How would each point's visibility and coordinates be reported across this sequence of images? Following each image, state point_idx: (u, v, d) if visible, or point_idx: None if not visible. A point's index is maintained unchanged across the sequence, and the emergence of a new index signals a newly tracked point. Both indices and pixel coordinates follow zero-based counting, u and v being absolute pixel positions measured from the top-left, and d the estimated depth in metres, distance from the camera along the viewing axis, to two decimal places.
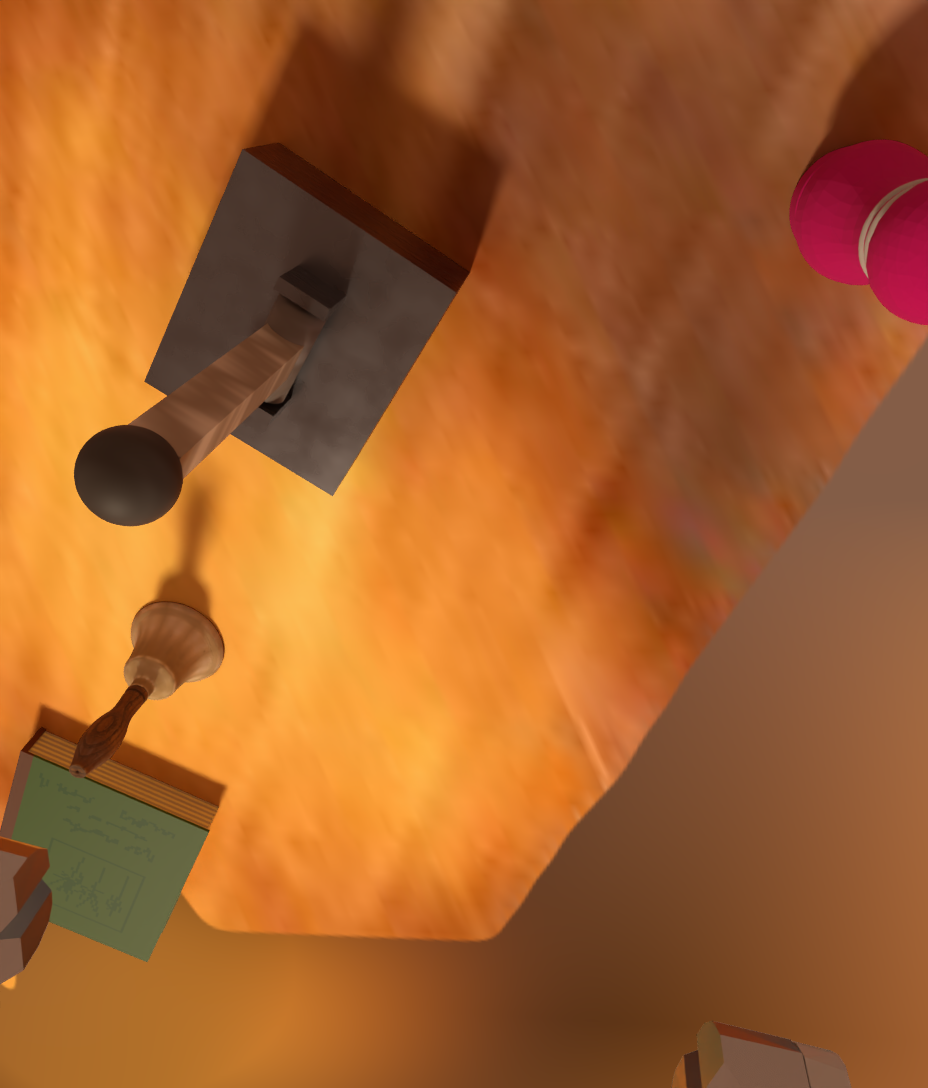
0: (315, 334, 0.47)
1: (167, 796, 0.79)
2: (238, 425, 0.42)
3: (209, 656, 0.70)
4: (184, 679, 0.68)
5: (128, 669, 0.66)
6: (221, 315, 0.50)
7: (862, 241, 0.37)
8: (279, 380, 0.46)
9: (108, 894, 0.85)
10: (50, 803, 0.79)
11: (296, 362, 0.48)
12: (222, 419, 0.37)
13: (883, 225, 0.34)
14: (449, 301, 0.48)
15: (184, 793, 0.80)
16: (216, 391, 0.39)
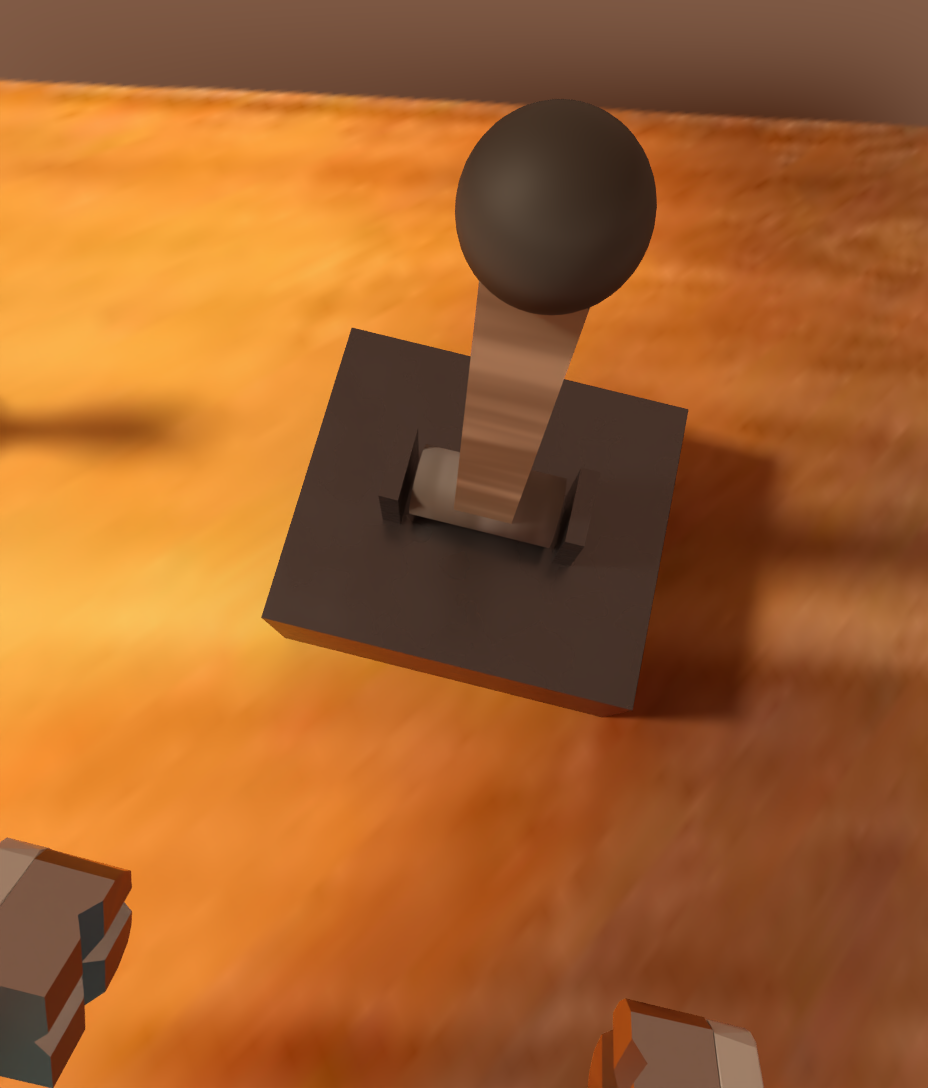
0: (529, 535, 0.33)
1: None
2: (463, 438, 0.26)
3: None
4: None
5: None
6: None
7: None
8: (477, 496, 0.31)
9: None
10: None
11: (483, 518, 0.33)
12: (556, 396, 0.22)
13: None
14: (617, 704, 0.34)
15: None
16: None
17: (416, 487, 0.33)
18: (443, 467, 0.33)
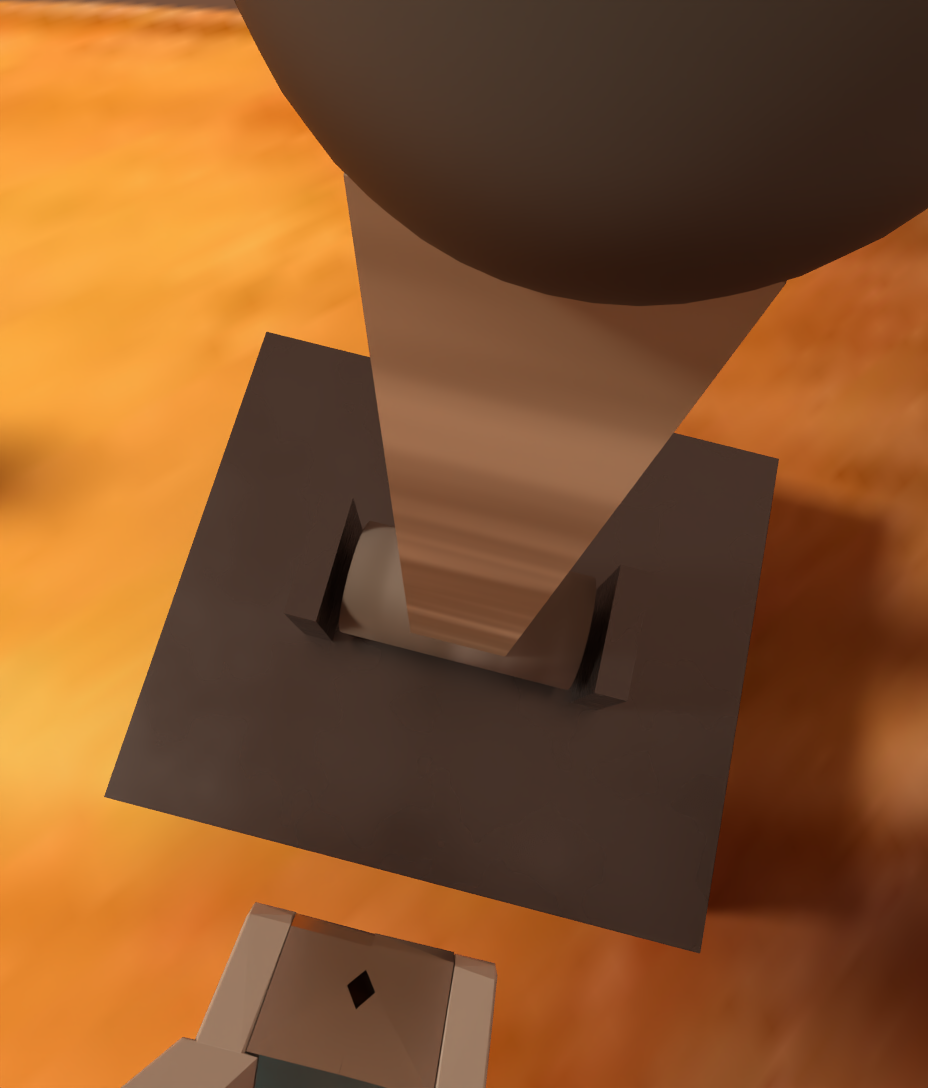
0: (534, 674, 0.20)
1: None
2: (402, 560, 0.13)
3: None
4: None
5: None
6: None
7: None
8: (446, 626, 0.18)
9: None
10: None
11: (460, 646, 0.20)
12: (605, 516, 0.09)
13: None
14: (676, 943, 0.21)
15: None
16: None
17: (348, 597, 0.20)
18: (393, 564, 0.20)
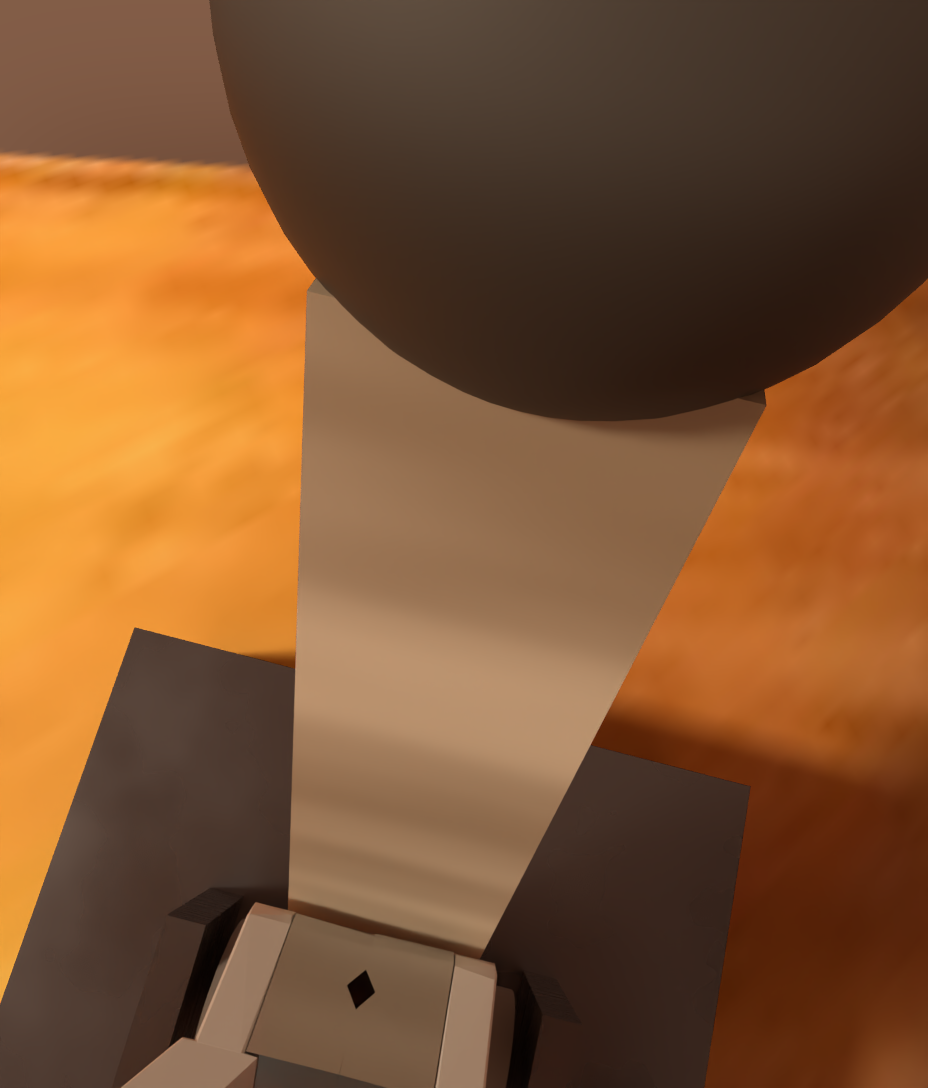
0: None
1: None
2: None
3: None
4: None
5: None
6: None
7: None
8: None
9: None
10: None
11: None
12: (552, 808, 0.07)
13: None
14: None
15: None
16: None
17: None
18: None
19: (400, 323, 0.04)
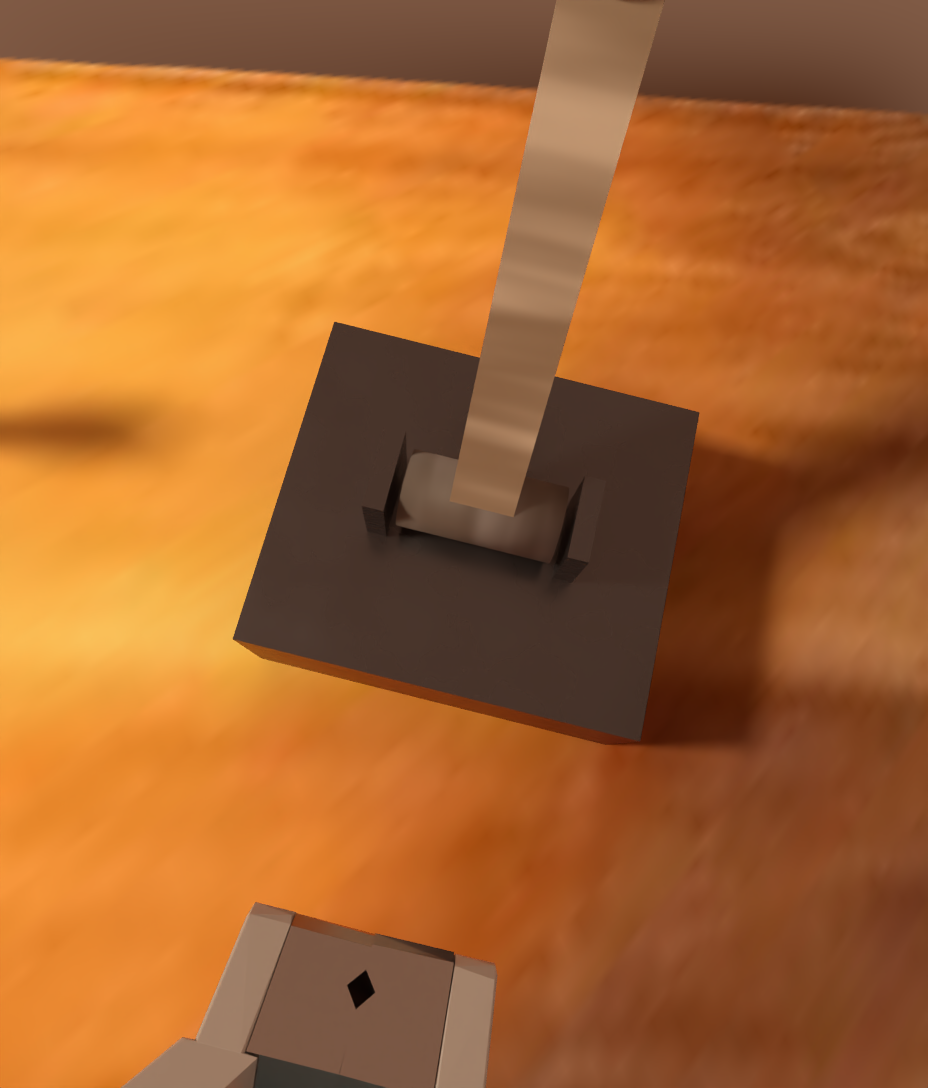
0: (532, 534, 0.30)
1: None
2: (491, 312, 0.25)
3: None
4: None
5: None
6: None
7: None
8: (484, 456, 0.28)
9: None
10: None
11: (483, 510, 0.30)
12: (609, 185, 0.22)
13: None
14: (623, 735, 0.31)
15: None
16: None
17: (409, 475, 0.30)
18: (438, 460, 0.30)
19: None
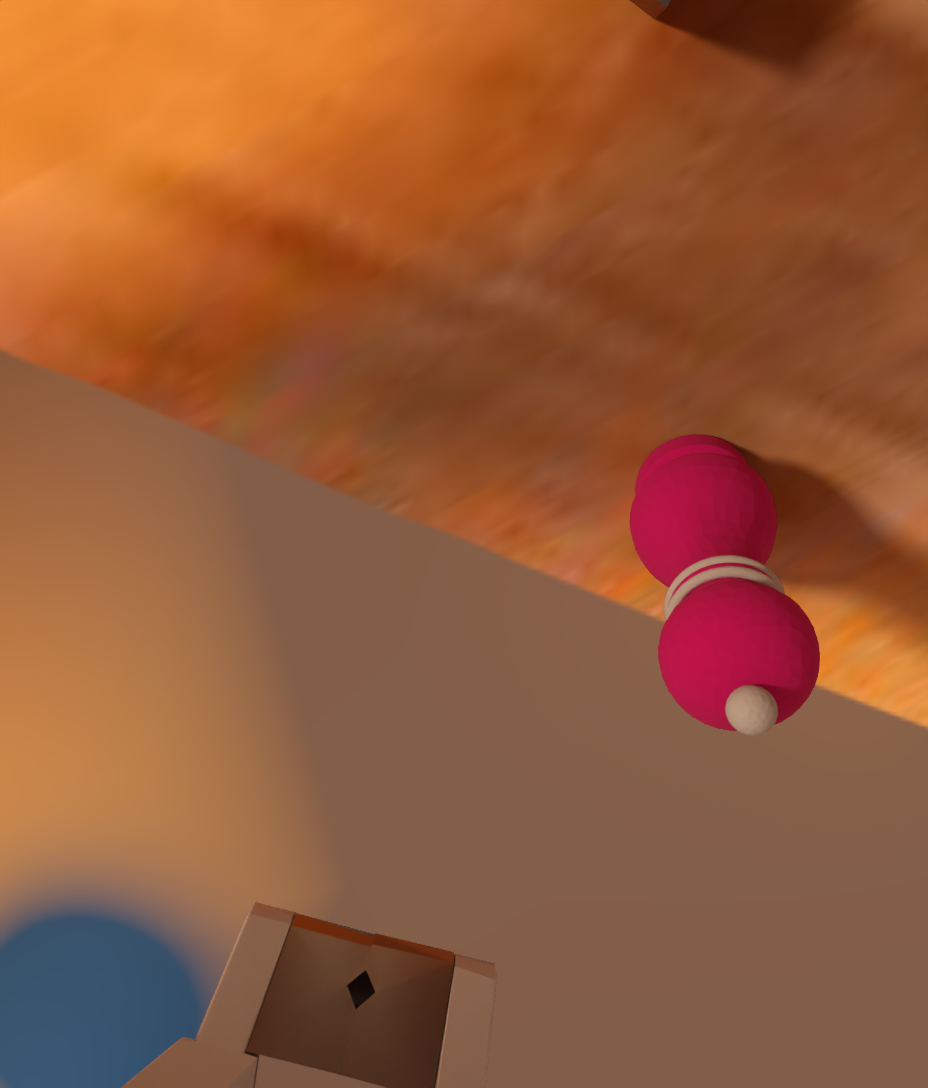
0: None
1: None
2: None
3: None
4: None
5: None
6: None
7: (729, 559, 0.34)
8: None
9: None
10: None
11: None
12: None
13: (777, 599, 0.30)
14: None
15: None
16: None
17: None
18: None
19: None
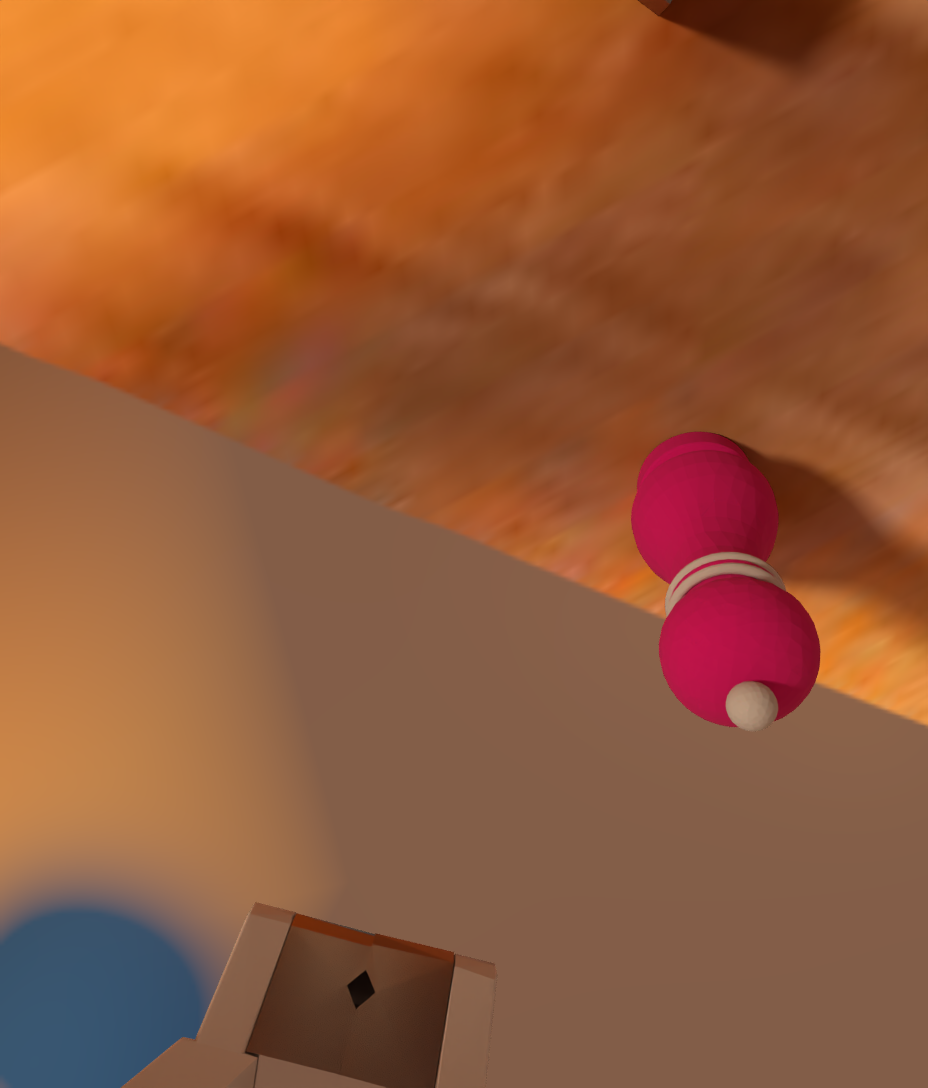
0: None
1: None
2: None
3: None
4: None
5: None
6: None
7: (730, 556, 0.34)
8: None
9: None
10: None
11: None
12: None
13: (778, 596, 0.31)
14: None
15: None
16: None
17: None
18: None
19: None
